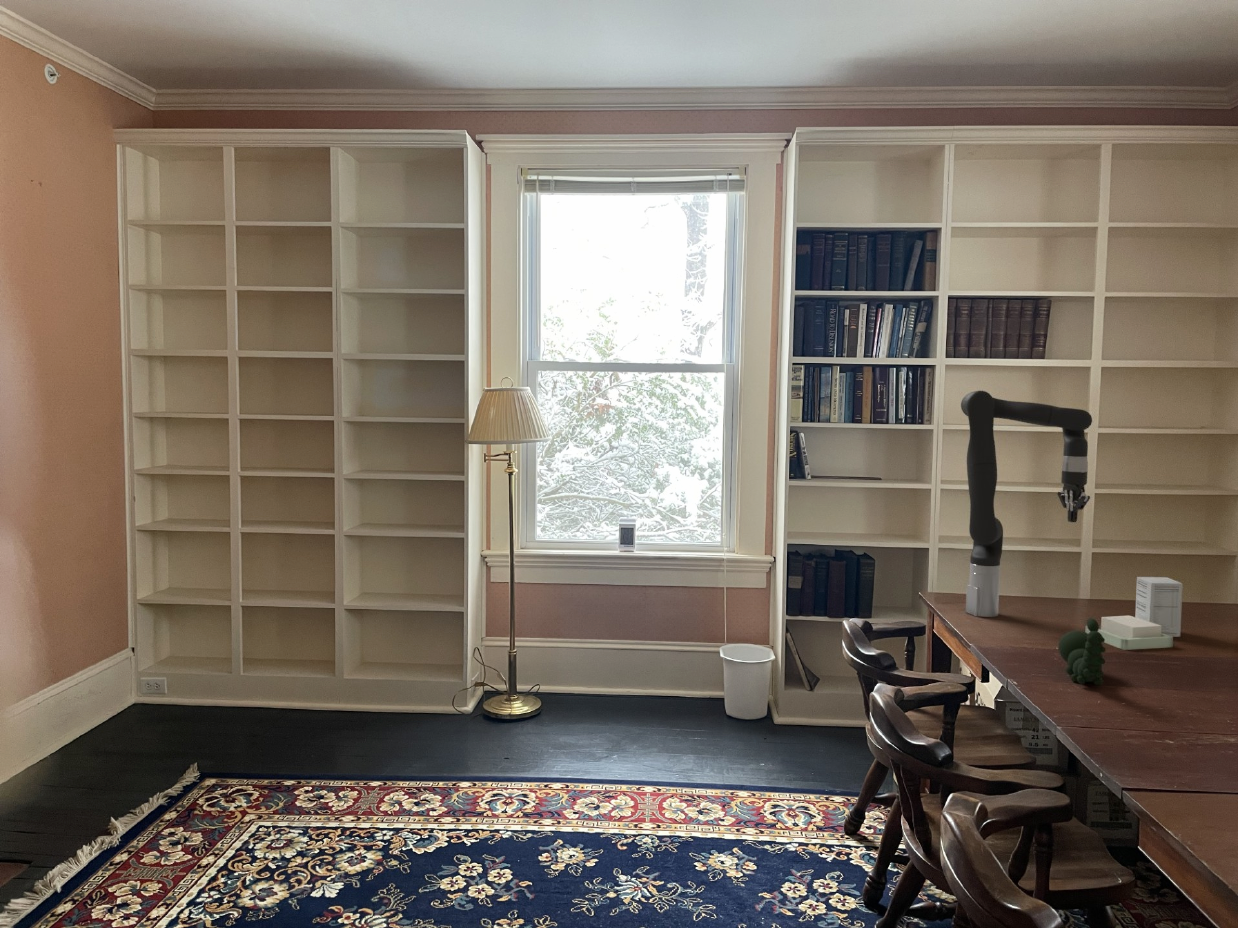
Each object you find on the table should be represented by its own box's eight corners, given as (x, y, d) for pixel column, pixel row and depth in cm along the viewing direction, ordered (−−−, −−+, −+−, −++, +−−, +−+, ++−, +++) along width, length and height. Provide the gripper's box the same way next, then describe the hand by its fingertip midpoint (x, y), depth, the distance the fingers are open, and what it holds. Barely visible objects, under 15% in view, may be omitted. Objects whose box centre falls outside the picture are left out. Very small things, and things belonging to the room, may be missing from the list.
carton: (1131, 647, 251) (1132, 627, 251) (1100, 636, 263) (1101, 617, 262) (1160, 645, 253) (1161, 625, 253) (1128, 634, 265) (1129, 615, 265)
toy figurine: (1113, 700, 211) (1089, 661, 235) (1119, 627, 208) (1094, 595, 231) (1071, 696, 214) (1051, 658, 237) (1076, 624, 210) (1055, 593, 234)
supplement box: (1165, 629, 270) (1168, 576, 269) (1181, 637, 261) (1184, 583, 260) (1133, 628, 271) (1136, 576, 270) (1148, 636, 262) (1151, 582, 261)
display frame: (1123, 649, 248) (1124, 639, 248) (1085, 635, 263) (1085, 625, 263) (1172, 646, 251) (1173, 636, 251) (1131, 632, 266) (1132, 623, 266)
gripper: (1050, 468, 287) (1048, 519, 288) (1078, 471, 274) (1076, 525, 275) (1070, 468, 288) (1068, 518, 290) (1099, 471, 275) (1096, 524, 277)
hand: (1072, 521), depth 283 cm, fingers closed
